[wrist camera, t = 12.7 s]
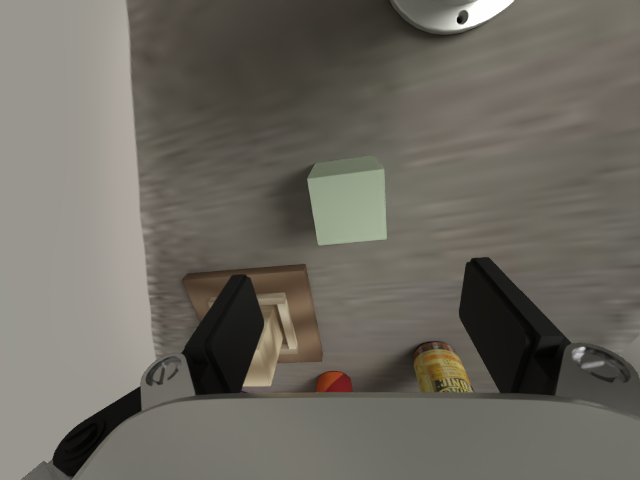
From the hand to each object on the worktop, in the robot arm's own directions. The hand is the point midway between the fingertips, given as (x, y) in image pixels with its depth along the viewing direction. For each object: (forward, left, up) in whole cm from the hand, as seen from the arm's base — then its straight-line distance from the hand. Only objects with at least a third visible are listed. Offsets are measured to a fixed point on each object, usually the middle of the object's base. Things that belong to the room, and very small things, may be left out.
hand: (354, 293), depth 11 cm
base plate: (+17, -14, -18) cm, 28 cm away
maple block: (+17, -14, -16) cm, 27 cm away
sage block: (0, 0, -18) cm, 18 cm away
